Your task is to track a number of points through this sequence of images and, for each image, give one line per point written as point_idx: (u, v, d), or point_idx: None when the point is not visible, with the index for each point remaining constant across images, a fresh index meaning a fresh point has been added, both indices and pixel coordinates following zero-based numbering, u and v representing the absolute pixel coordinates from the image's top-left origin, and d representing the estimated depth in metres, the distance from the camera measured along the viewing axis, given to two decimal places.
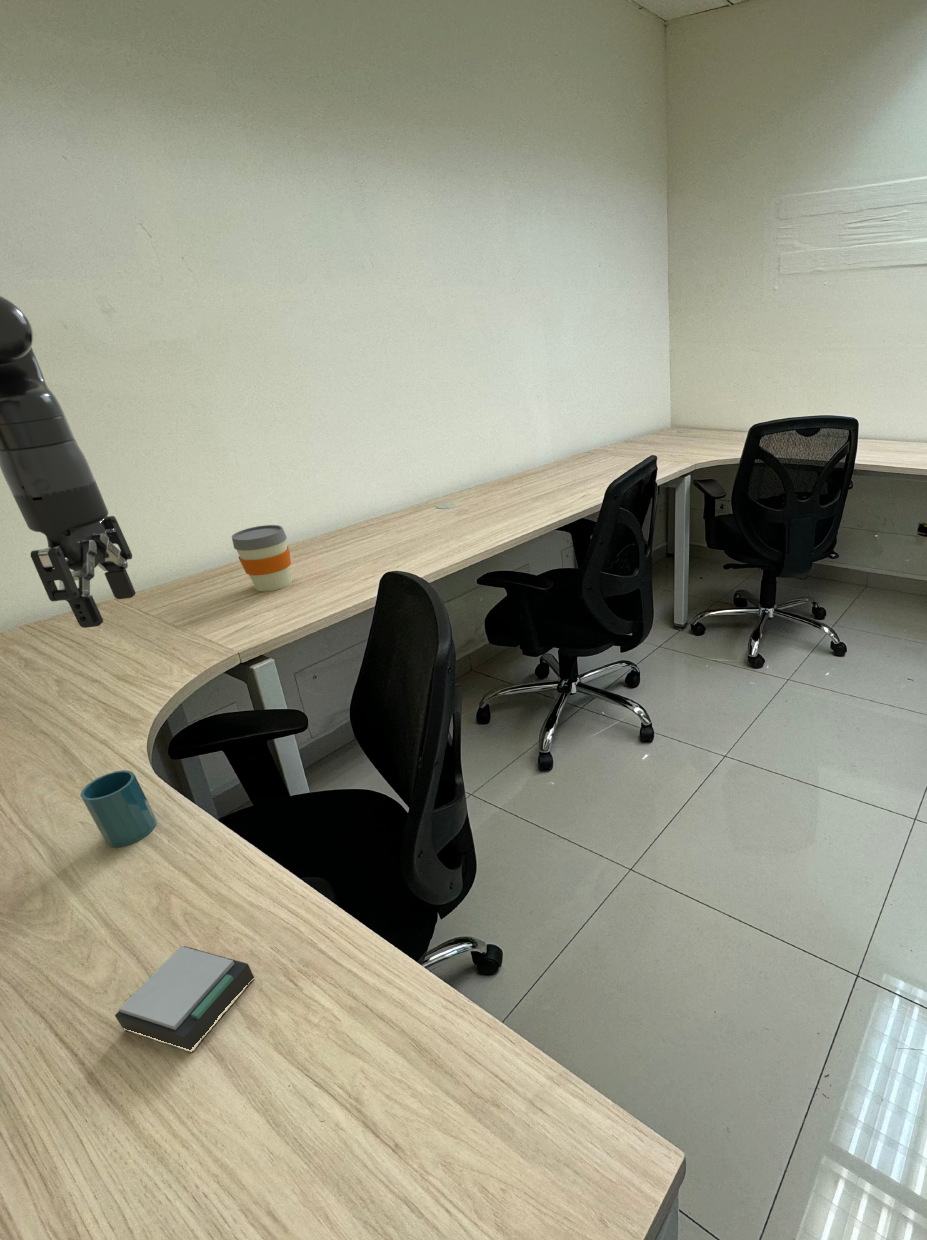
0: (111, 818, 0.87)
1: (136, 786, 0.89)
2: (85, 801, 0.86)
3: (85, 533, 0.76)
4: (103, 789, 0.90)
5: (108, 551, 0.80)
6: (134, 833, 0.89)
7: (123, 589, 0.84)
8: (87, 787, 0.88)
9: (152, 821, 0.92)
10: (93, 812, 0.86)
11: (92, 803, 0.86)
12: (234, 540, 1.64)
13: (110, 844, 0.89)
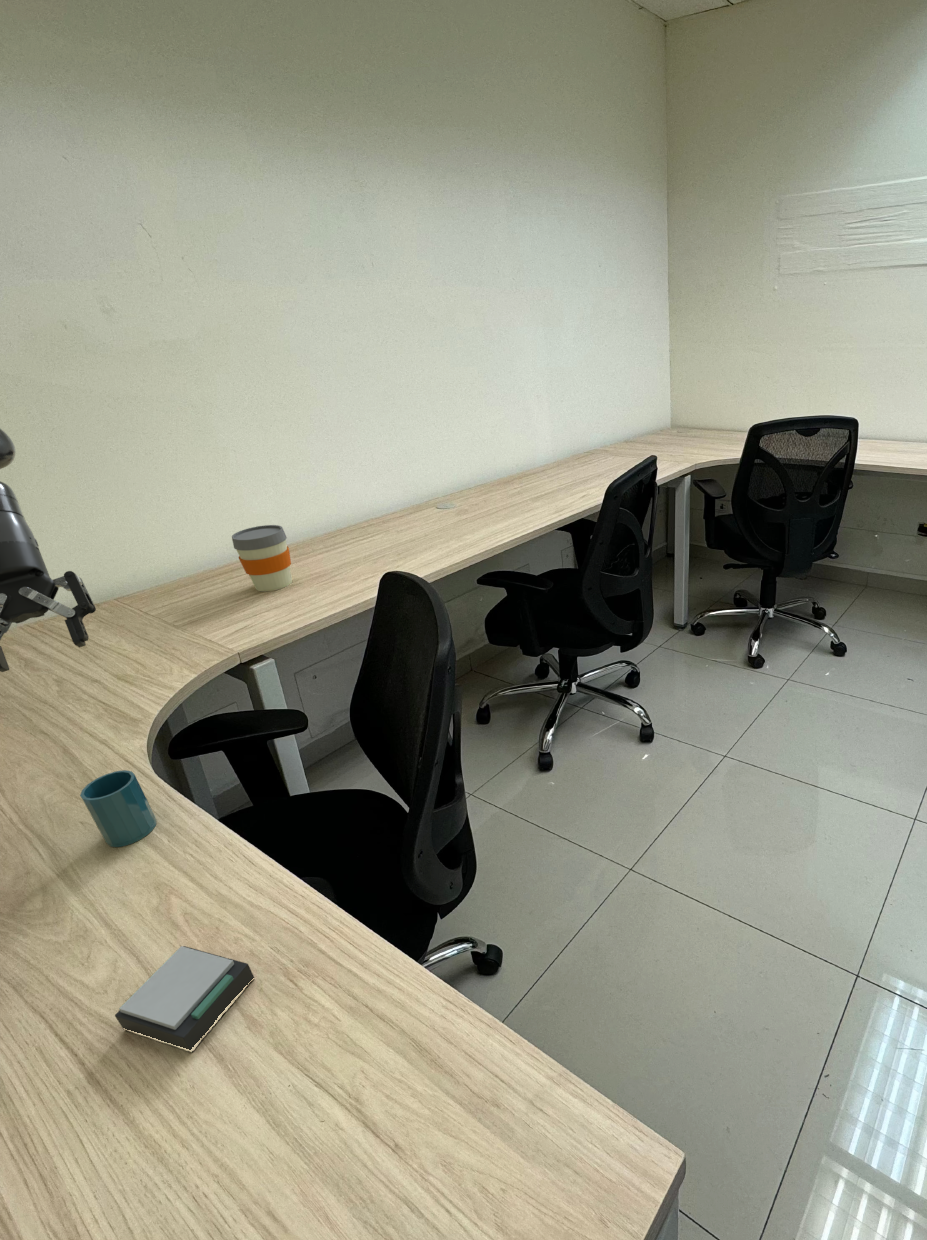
0: (111, 818, 0.87)
1: (136, 786, 0.89)
2: (85, 801, 0.86)
3: None
4: (103, 789, 0.90)
5: None
6: (134, 833, 0.89)
7: (3, 660, 0.85)
8: (87, 787, 0.88)
9: (152, 821, 0.92)
10: (93, 812, 0.86)
11: (92, 803, 0.86)
12: (234, 540, 1.64)
13: (110, 844, 0.89)
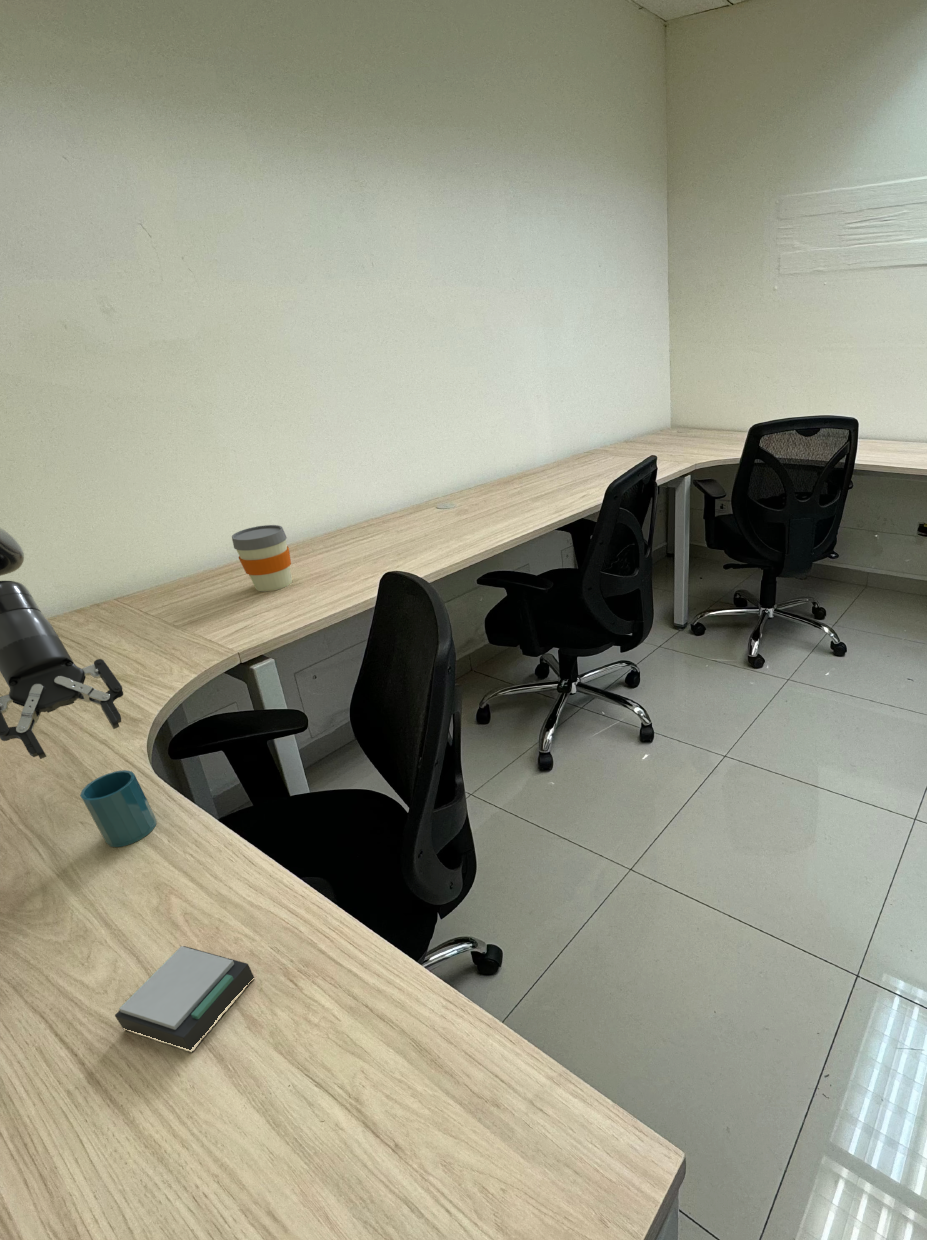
0: (111, 818, 0.87)
1: (136, 786, 0.89)
2: (85, 801, 0.86)
3: None
4: (103, 789, 0.90)
5: None
6: (134, 833, 0.89)
7: None
8: (87, 787, 0.88)
9: (152, 821, 0.92)
10: (93, 812, 0.86)
11: (92, 803, 0.86)
12: (234, 540, 1.64)
13: (110, 844, 0.89)
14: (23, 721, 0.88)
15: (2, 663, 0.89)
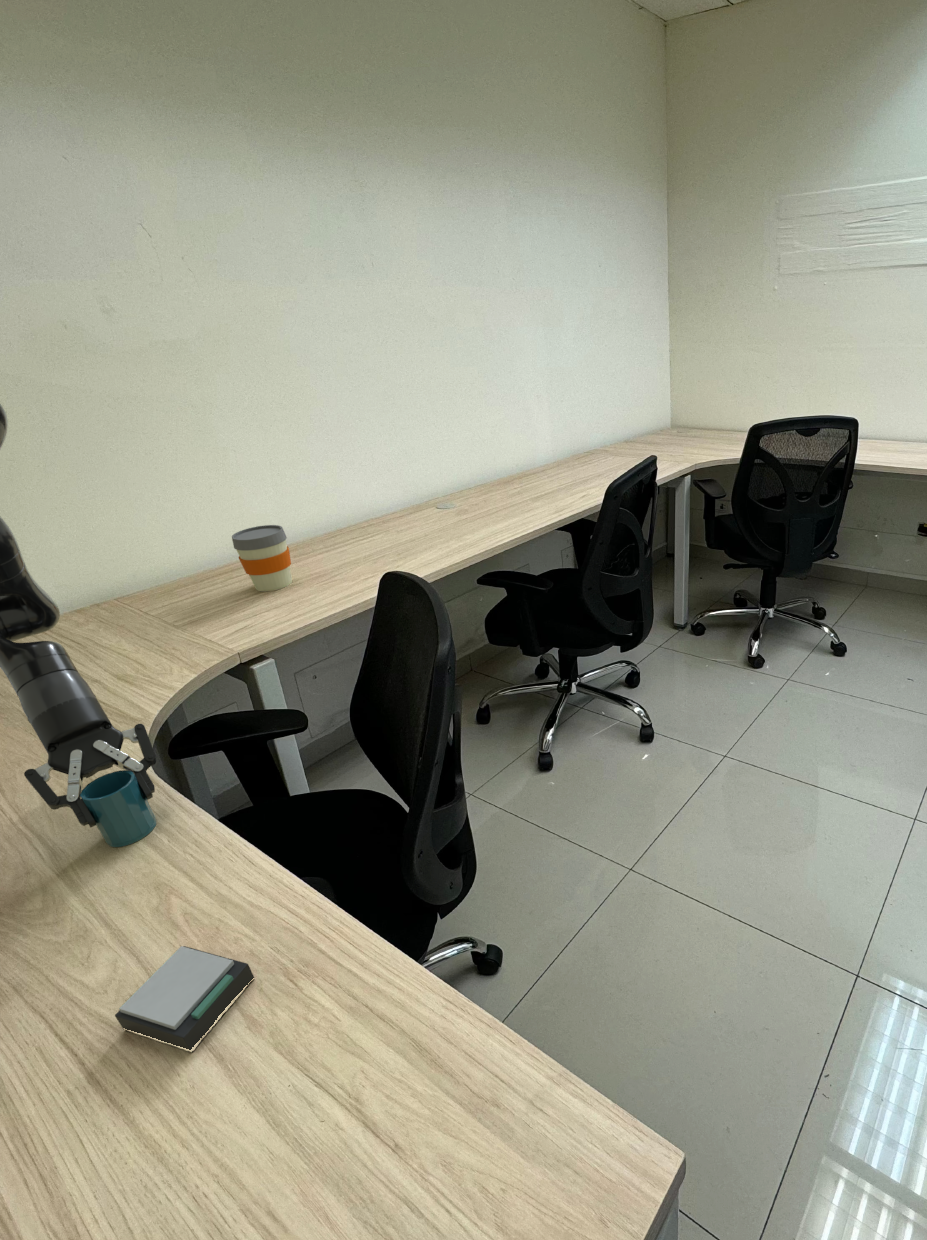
0: (111, 818, 0.87)
1: (136, 786, 0.89)
2: (85, 801, 0.86)
3: None
4: (103, 789, 0.90)
5: None
6: (134, 833, 0.89)
7: None
8: (87, 787, 0.88)
9: (152, 821, 0.92)
10: (93, 812, 0.86)
11: (92, 803, 0.86)
12: (234, 540, 1.64)
13: (110, 844, 0.89)
14: (71, 789, 0.86)
15: (40, 729, 0.87)
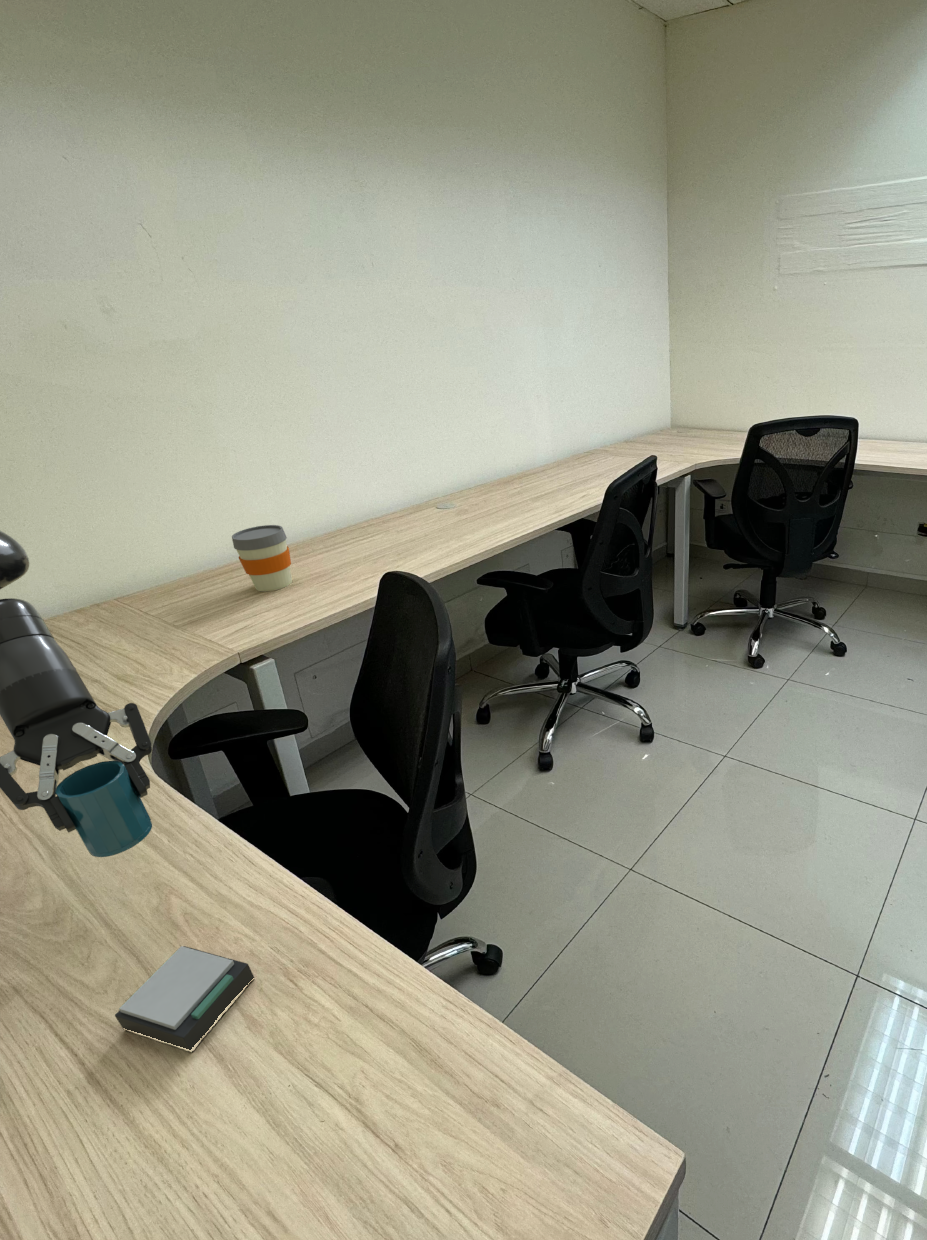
0: (95, 821, 0.69)
1: (127, 780, 0.71)
2: (61, 799, 0.67)
3: None
4: (85, 784, 0.72)
5: None
6: (124, 839, 0.71)
7: None
8: (64, 782, 0.70)
9: (147, 824, 0.74)
10: (72, 814, 0.68)
11: (71, 802, 0.67)
12: (234, 540, 1.64)
13: (94, 853, 0.71)
14: (44, 784, 0.68)
15: (5, 708, 0.68)
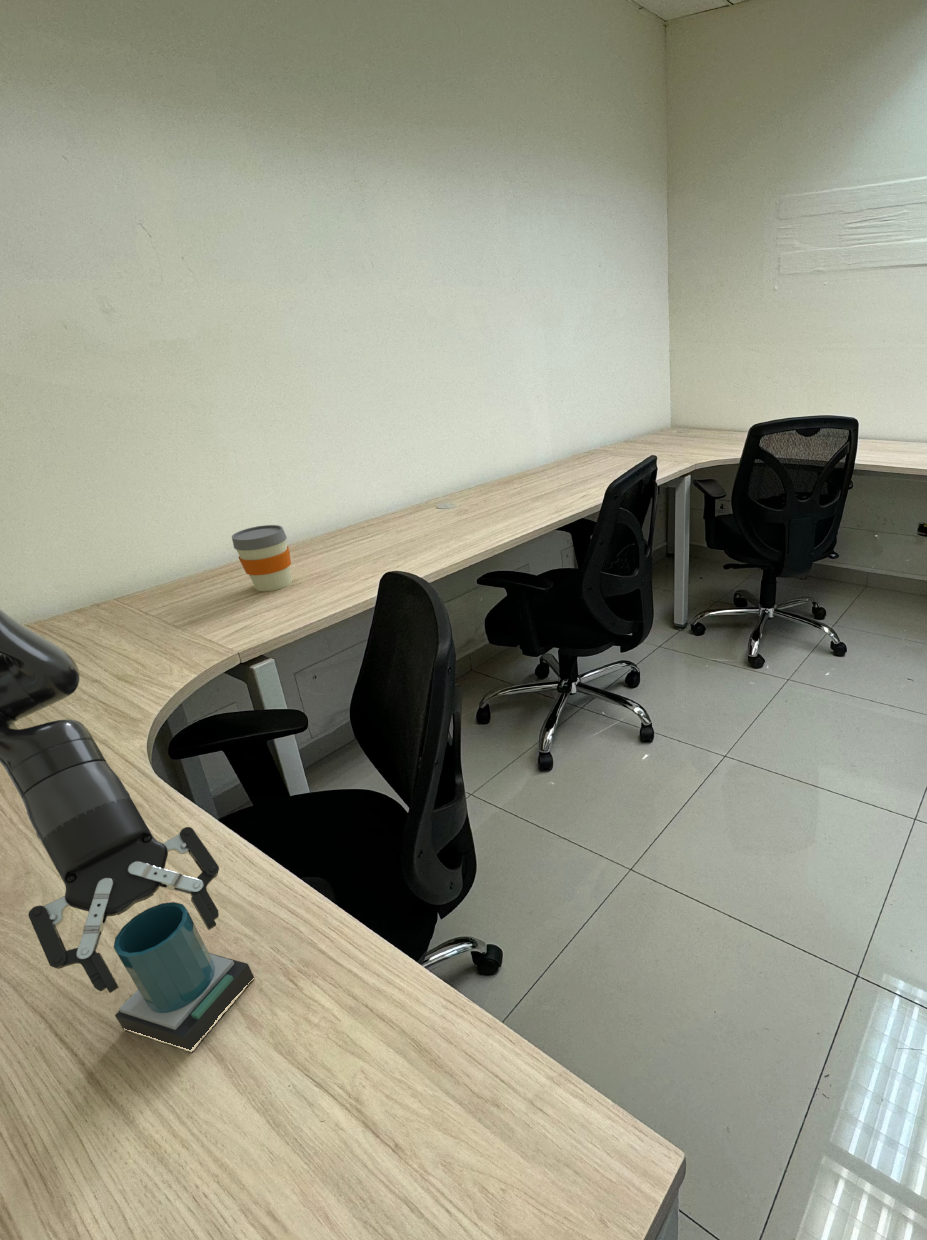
0: (157, 978, 0.62)
1: (190, 927, 0.64)
2: (121, 957, 0.61)
3: None
4: (143, 930, 0.65)
5: None
6: (187, 993, 0.64)
7: (112, 975, 0.61)
8: (122, 932, 0.63)
9: (210, 970, 0.67)
10: (132, 971, 0.61)
11: (131, 961, 0.60)
12: (234, 540, 1.64)
13: (154, 1009, 0.64)
14: (86, 939, 0.60)
15: (55, 851, 0.61)
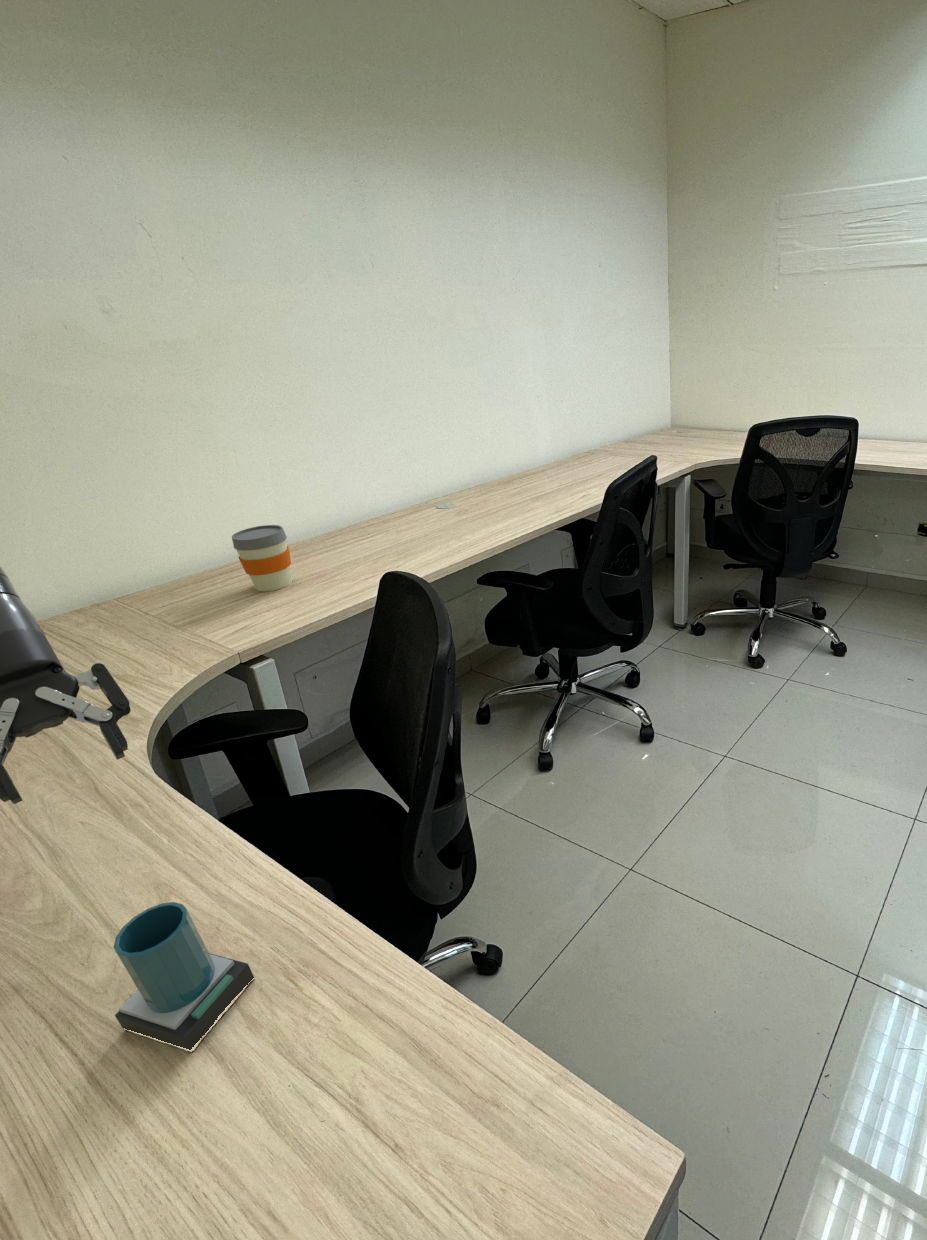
0: (157, 978, 0.62)
1: (190, 927, 0.64)
2: (121, 957, 0.61)
3: None
4: (143, 930, 0.65)
5: None
6: (187, 993, 0.64)
7: None
8: (122, 932, 0.63)
9: (210, 970, 0.67)
10: (132, 971, 0.61)
11: (131, 961, 0.60)
12: (234, 540, 1.64)
13: (154, 1009, 0.64)
14: None
15: None
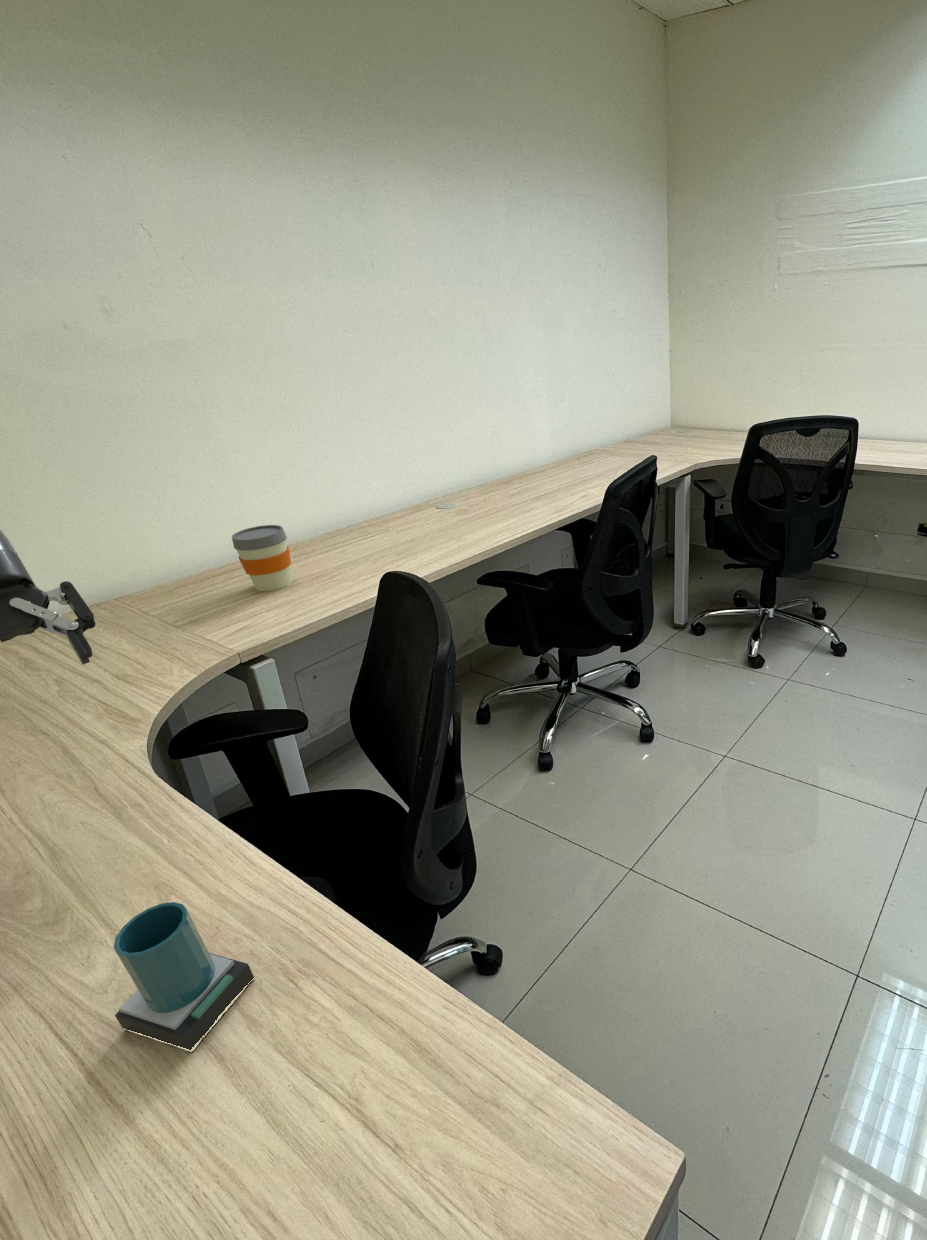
0: (157, 978, 0.62)
1: (190, 927, 0.64)
2: (121, 957, 0.61)
3: None
4: (143, 930, 0.65)
5: None
6: (187, 993, 0.64)
7: None
8: (122, 932, 0.63)
9: (210, 970, 0.67)
10: (132, 971, 0.61)
11: (131, 961, 0.60)
12: (234, 540, 1.64)
13: (154, 1009, 0.64)
14: None
15: None
